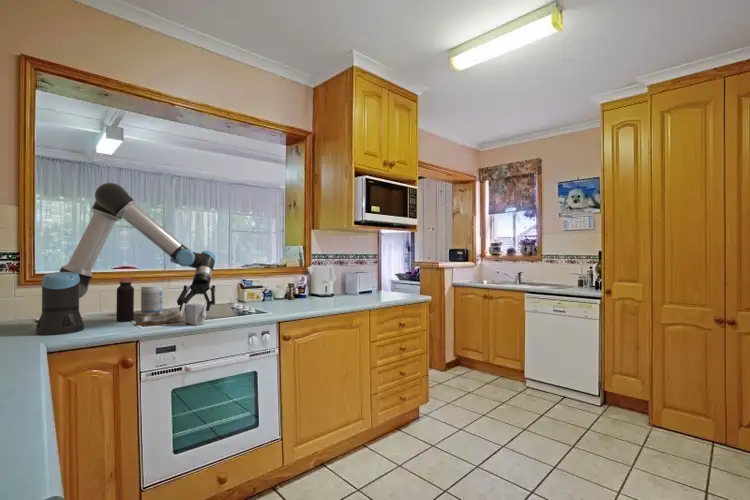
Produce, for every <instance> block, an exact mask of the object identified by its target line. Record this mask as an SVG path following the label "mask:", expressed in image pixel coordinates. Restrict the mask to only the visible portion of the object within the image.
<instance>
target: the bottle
mask: <svg viewBox="0 0 750 500" xmlns="http://www.w3.org/2000/svg"><path fill="white" fill-rule="evenodd" d="M132 280H133V279H132V277H119V279H118V281H119V286H118V287H117V288H116V309H115V310H116V311H115V312H116V315H115V316H116V319H115V320H116V322H118V323H126V322H133V321H134V319H135V317H134V315H135V314H134V312H135V311H134V305H135V300H134V299H135V288H134V287H133V286H132V282H133V281H132Z"/></svg>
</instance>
